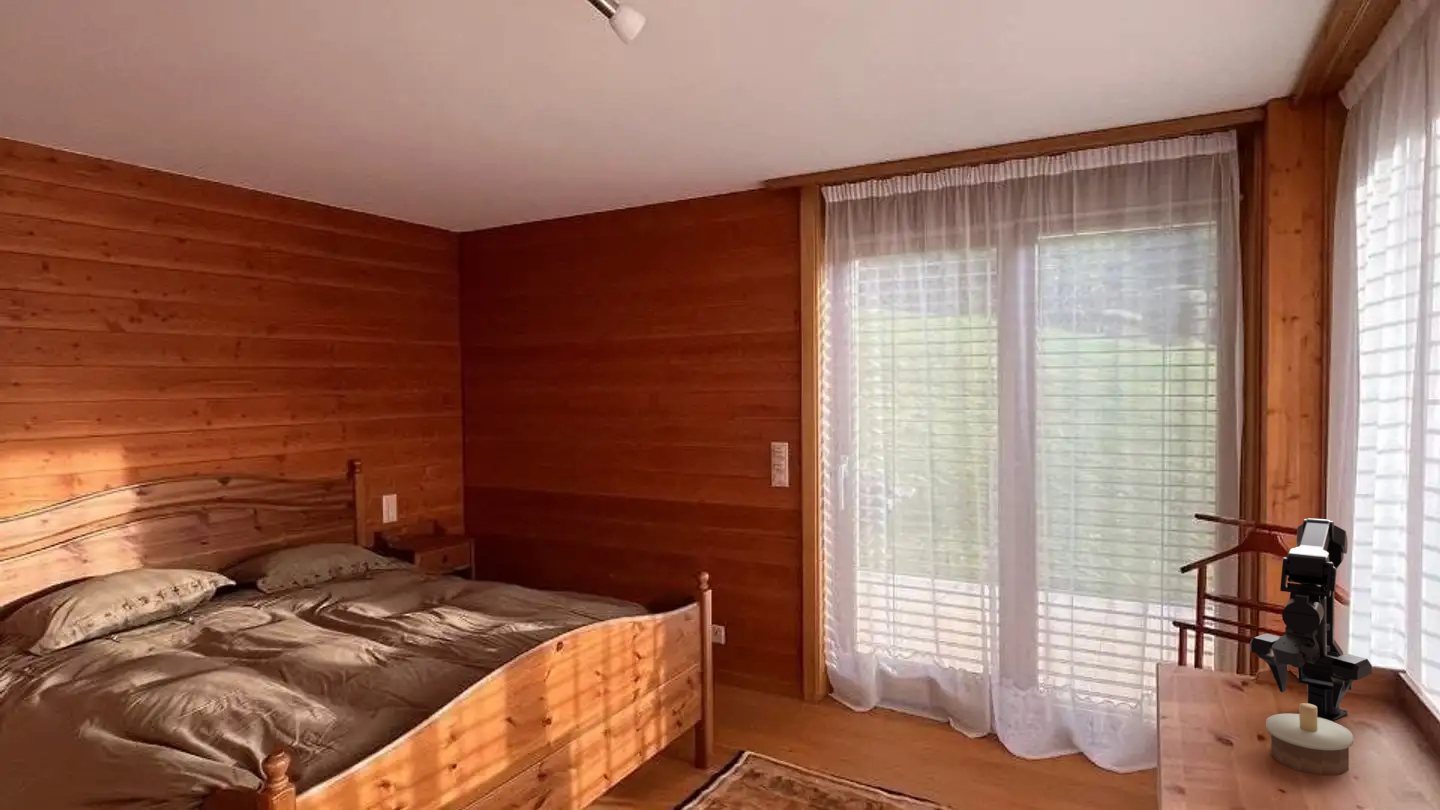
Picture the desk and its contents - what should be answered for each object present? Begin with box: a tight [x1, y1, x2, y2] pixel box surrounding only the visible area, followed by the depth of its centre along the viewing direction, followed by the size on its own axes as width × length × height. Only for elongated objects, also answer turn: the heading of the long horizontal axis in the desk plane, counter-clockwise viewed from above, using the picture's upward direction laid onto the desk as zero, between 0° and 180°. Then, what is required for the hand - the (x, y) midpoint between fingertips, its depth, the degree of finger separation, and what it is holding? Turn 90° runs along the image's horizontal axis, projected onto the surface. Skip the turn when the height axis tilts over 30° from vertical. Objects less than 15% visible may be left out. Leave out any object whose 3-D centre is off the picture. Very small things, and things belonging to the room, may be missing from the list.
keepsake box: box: [1270, 733, 1350, 776], centre depth 161 cm, size 12×12×5 cm
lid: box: [1265, 702, 1354, 750], centre depth 161 cm, size 14×14×7 cm
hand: (1308, 699), depth 160 cm, fingers open, 9 cm apart
